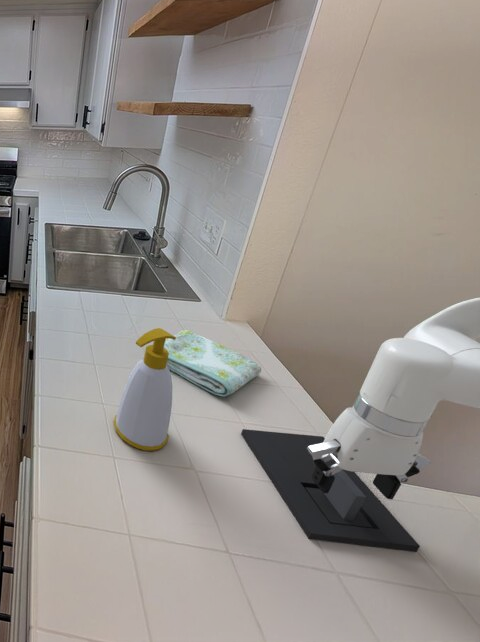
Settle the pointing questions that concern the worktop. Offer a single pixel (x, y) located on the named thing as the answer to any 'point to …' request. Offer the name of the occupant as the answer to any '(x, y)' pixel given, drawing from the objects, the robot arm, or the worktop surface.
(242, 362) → the towel
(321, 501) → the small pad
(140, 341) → the soap bottle
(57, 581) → the worktop surface
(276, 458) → the big pad
